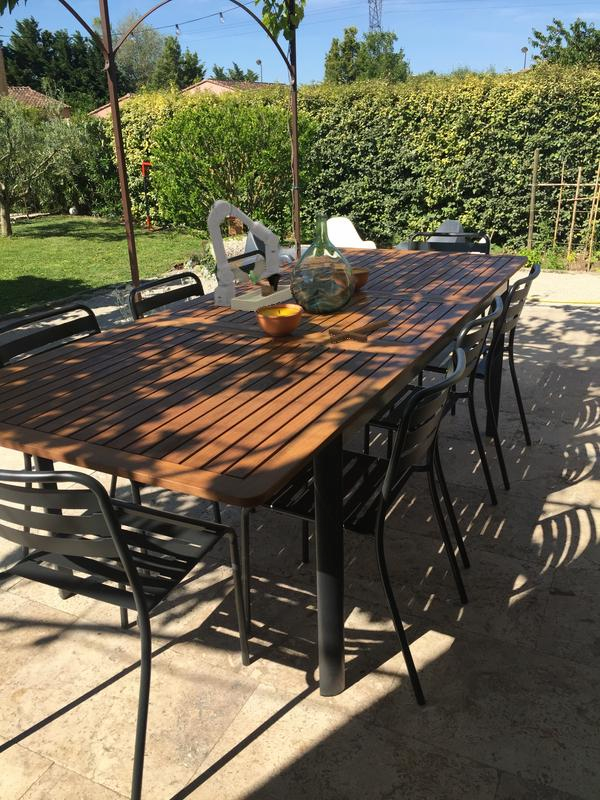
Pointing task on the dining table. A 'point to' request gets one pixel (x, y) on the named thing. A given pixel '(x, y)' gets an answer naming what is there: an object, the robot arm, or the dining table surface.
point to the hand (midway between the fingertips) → (274, 291)
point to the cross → (356, 332)
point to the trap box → (260, 299)
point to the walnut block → (267, 290)
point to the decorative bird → (254, 274)
